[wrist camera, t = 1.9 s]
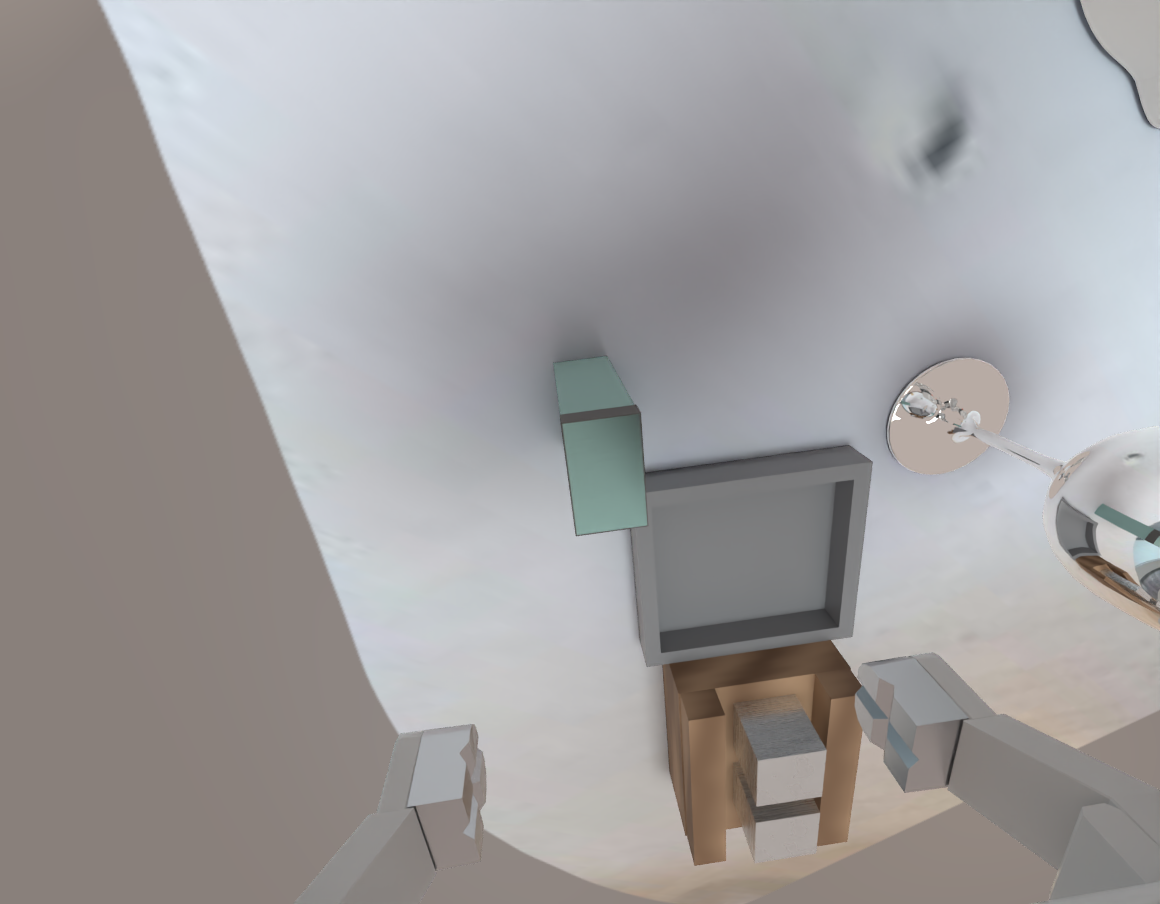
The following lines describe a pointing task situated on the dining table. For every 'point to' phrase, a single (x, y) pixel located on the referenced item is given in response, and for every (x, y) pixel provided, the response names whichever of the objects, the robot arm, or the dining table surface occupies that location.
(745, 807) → the steel block
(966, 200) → the dining table surface
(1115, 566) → the wineglass
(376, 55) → the dining table surface
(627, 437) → the green grey block
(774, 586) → the tray
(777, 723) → the steel block
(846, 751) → the groove board
